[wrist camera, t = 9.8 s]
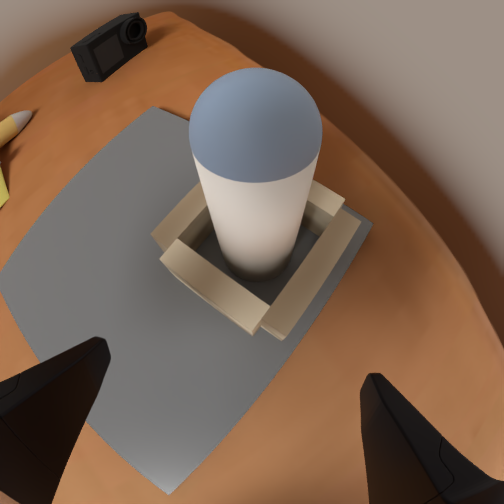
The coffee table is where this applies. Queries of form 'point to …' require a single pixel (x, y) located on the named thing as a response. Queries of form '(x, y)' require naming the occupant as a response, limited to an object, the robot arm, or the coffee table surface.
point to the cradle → (233, 294)
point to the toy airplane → (3, 134)
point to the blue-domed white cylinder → (256, 165)
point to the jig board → (149, 303)
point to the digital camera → (110, 47)
